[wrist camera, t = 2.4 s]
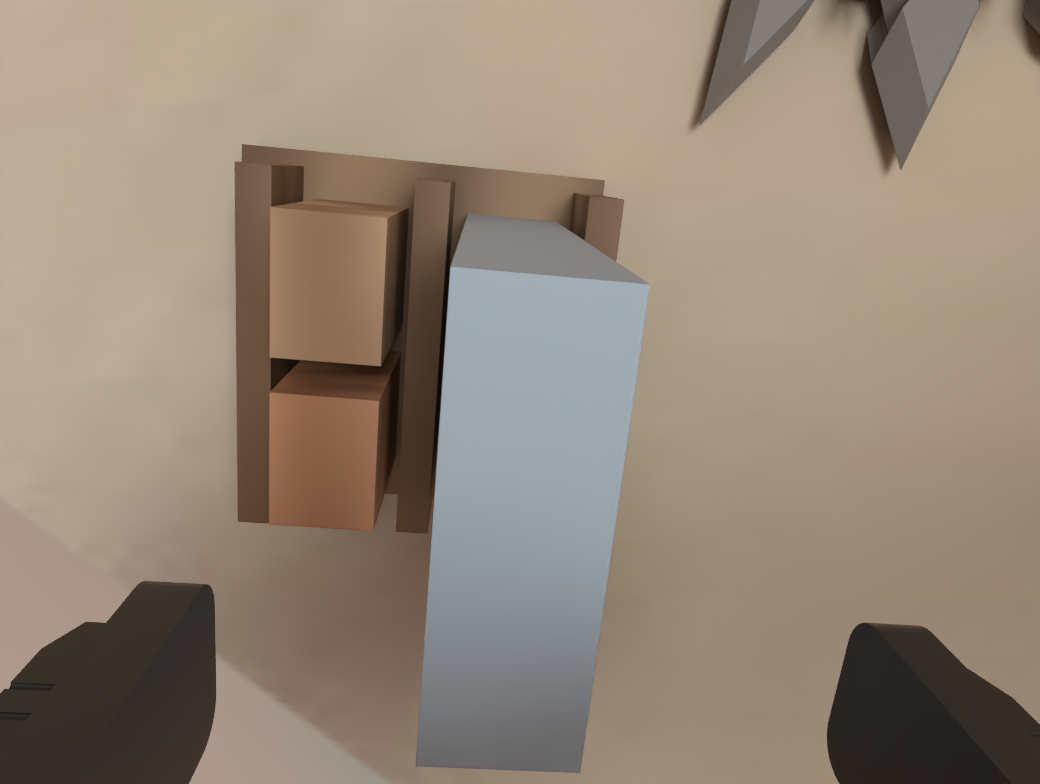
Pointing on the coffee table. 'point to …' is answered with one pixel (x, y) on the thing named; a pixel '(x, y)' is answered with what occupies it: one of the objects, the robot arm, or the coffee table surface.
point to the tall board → (525, 493)
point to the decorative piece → (892, 45)
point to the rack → (430, 251)
